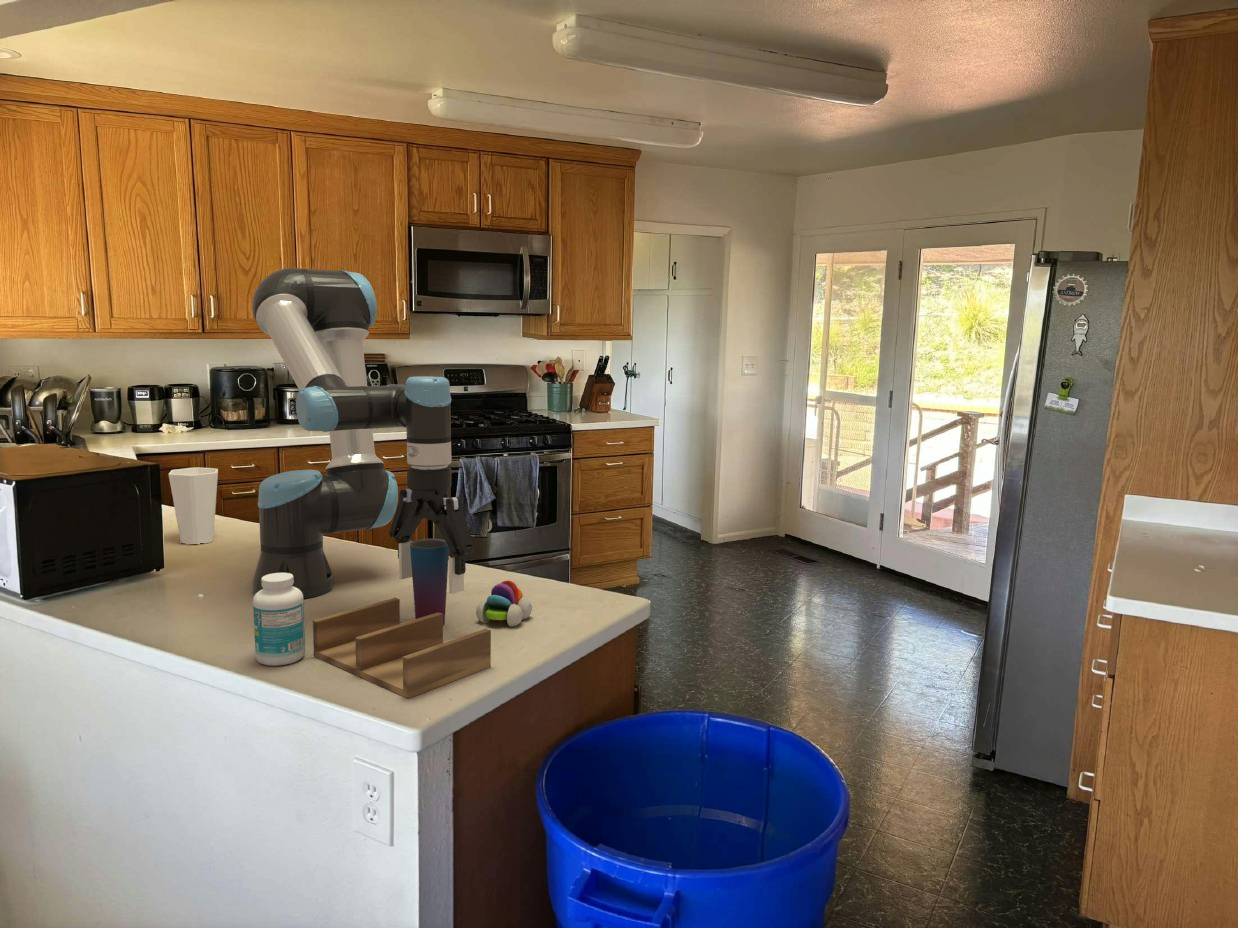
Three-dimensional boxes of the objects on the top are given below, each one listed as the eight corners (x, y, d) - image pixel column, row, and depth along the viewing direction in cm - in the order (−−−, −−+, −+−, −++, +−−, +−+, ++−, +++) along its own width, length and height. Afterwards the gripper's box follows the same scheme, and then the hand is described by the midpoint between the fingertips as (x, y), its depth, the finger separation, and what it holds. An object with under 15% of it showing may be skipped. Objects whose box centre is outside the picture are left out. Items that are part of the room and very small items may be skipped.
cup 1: (161, 544, 203) (157, 473, 201) (189, 535, 213) (186, 466, 211) (205, 548, 202) (201, 475, 199) (231, 537, 211) (228, 469, 209)
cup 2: (440, 632, 151) (440, 549, 148) (404, 629, 152) (403, 546, 150) (455, 620, 157) (455, 540, 155) (420, 616, 159) (419, 537, 156)
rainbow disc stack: (536, 615, 162) (536, 578, 160) (513, 632, 153) (513, 592, 151) (495, 609, 164) (495, 572, 163) (470, 625, 155) (470, 586, 154)
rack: (313, 656, 139) (312, 620, 138) (395, 630, 151) (395, 597, 150) (408, 698, 124) (408, 658, 123) (490, 666, 137) (490, 630, 136)
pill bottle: (264, 649, 141) (261, 569, 139) (310, 649, 142) (308, 569, 140) (248, 667, 134) (245, 583, 132) (298, 667, 134) (295, 583, 132)
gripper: (367, 460, 155) (370, 575, 158) (460, 476, 140) (462, 603, 143) (401, 456, 161) (403, 567, 164) (494, 471, 146) (495, 593, 149)
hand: (431, 584), depth 153 cm, fingers open, 13 cm apart
